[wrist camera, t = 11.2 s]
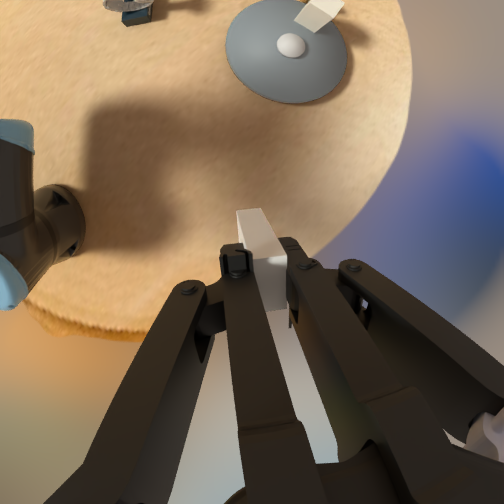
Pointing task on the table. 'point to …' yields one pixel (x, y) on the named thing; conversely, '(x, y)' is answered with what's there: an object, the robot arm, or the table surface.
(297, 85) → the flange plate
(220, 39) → the table surface
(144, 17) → the watch
